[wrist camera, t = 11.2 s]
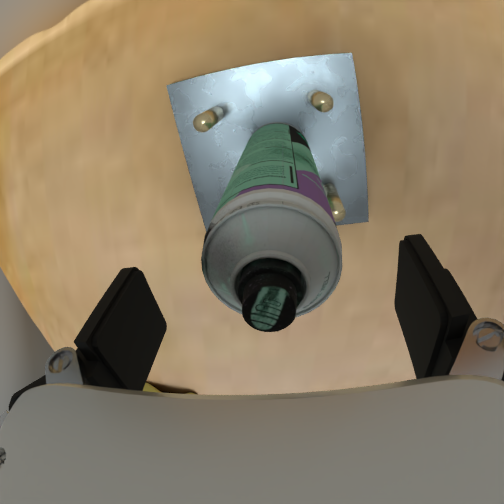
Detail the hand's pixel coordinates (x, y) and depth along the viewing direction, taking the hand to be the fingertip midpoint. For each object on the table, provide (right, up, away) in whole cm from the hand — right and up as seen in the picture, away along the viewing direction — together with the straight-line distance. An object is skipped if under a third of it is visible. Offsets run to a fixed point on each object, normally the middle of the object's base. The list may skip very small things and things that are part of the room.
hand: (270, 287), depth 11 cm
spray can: (+2, +10, +16) cm, 19 cm away
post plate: (+1, +11, +17) cm, 20 cm away
